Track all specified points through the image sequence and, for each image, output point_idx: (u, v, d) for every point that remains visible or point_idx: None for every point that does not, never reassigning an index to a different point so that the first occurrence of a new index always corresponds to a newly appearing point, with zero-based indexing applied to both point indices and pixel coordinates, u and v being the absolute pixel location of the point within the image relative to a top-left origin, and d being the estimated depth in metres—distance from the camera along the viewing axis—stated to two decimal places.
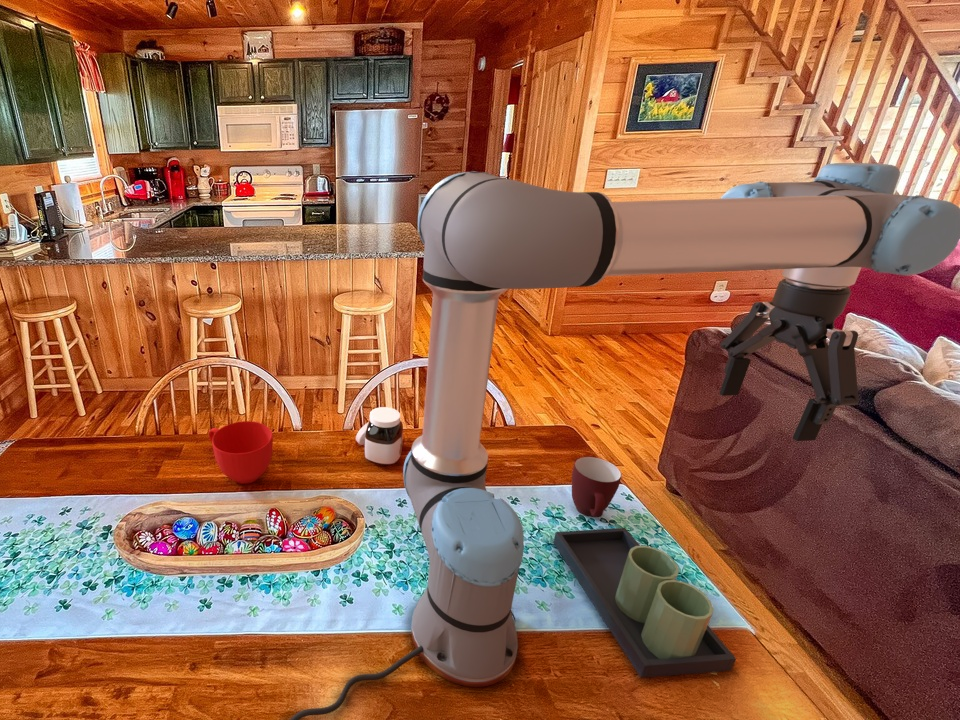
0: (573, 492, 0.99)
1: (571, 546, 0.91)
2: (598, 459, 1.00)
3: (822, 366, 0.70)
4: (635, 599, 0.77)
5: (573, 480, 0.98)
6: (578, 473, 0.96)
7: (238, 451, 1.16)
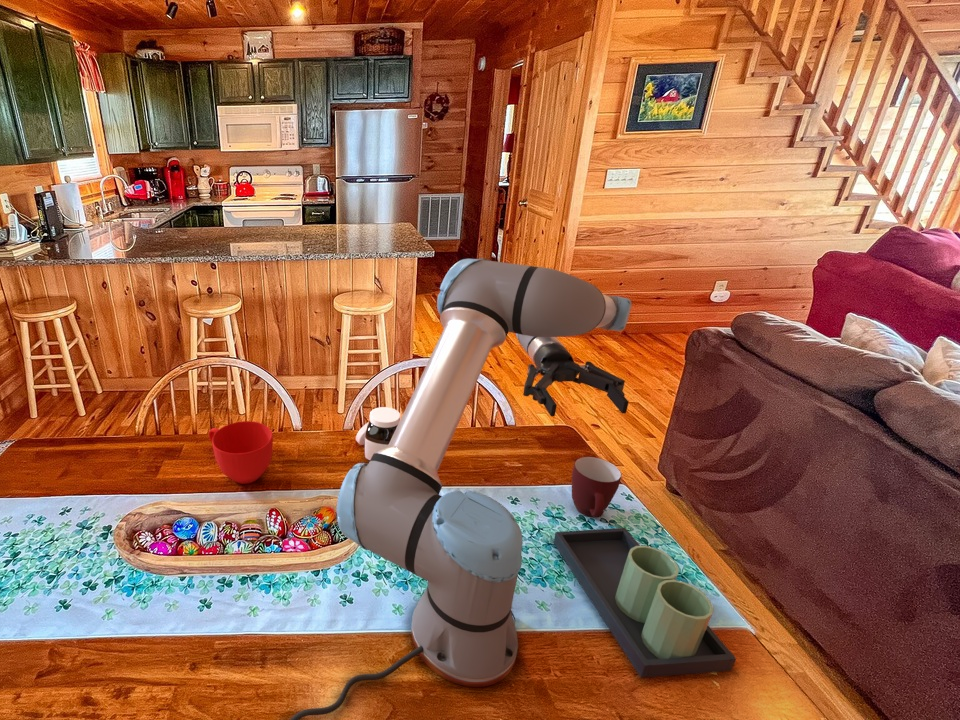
0: (573, 492, 0.99)
1: (571, 546, 0.91)
2: (598, 459, 1.00)
3: None
4: (635, 599, 0.77)
5: (573, 480, 0.98)
6: (578, 473, 0.96)
7: (238, 451, 1.16)
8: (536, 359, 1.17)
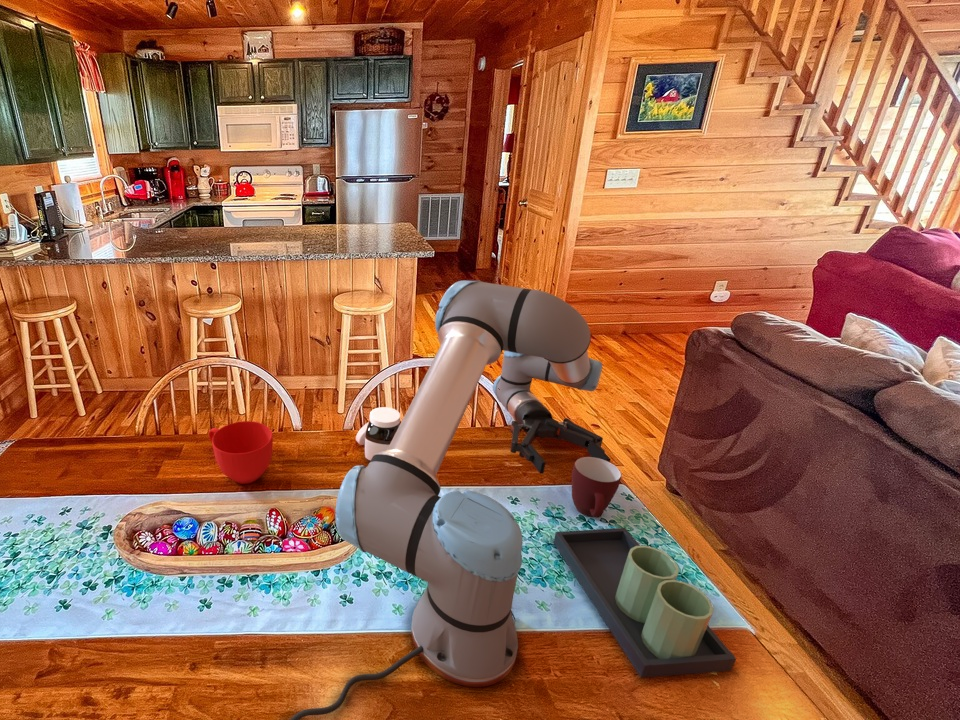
0: (573, 492, 0.99)
1: (571, 546, 0.91)
2: (598, 459, 1.00)
3: None
4: (635, 599, 0.77)
5: (573, 480, 0.98)
6: (578, 473, 0.96)
7: (238, 451, 1.16)
8: (517, 416, 1.21)
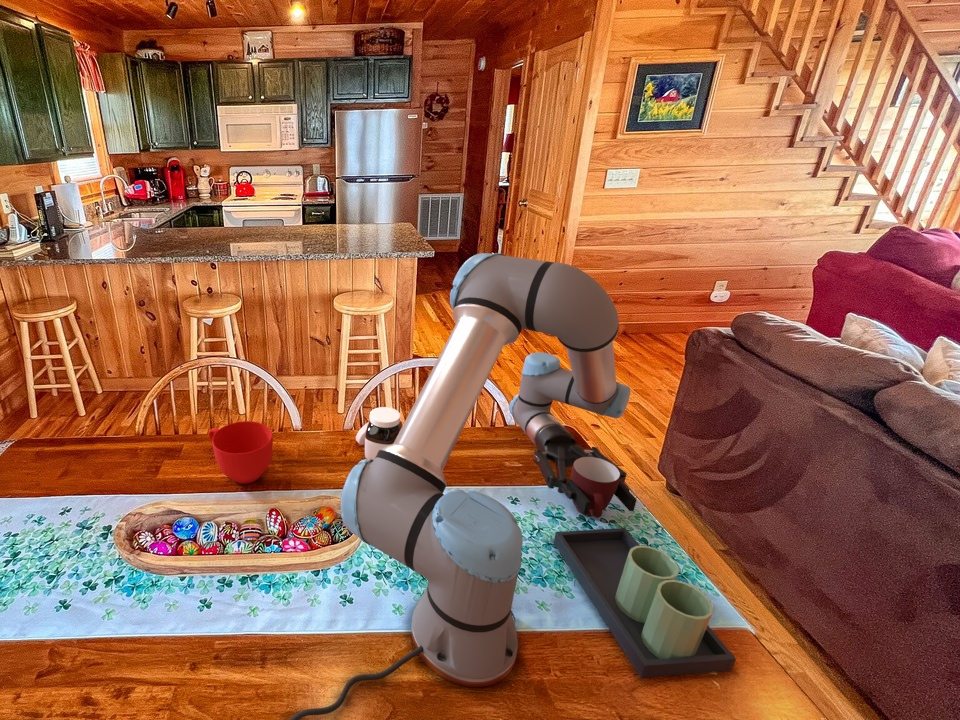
0: None
1: (571, 546, 0.91)
2: (597, 458, 1.00)
3: None
4: (635, 599, 0.77)
5: None
6: (577, 474, 0.96)
7: (238, 451, 1.16)
8: (538, 441, 1.12)
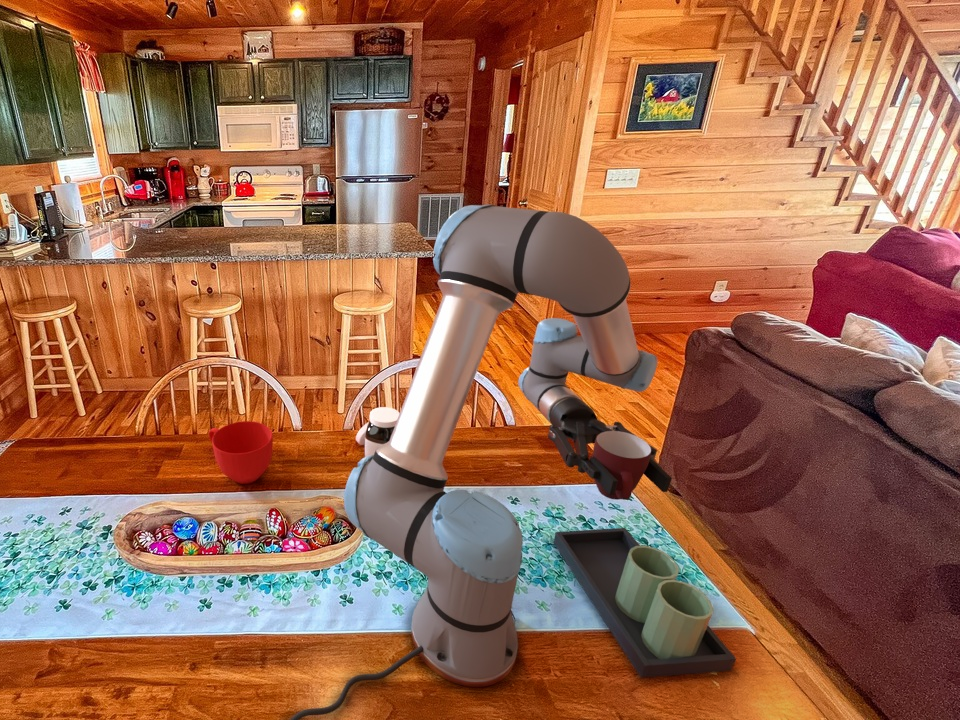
0: None
1: (571, 546, 0.91)
2: (622, 433, 0.87)
3: None
4: (635, 599, 0.77)
5: None
6: (601, 449, 0.83)
7: (238, 451, 1.16)
8: (553, 416, 0.99)
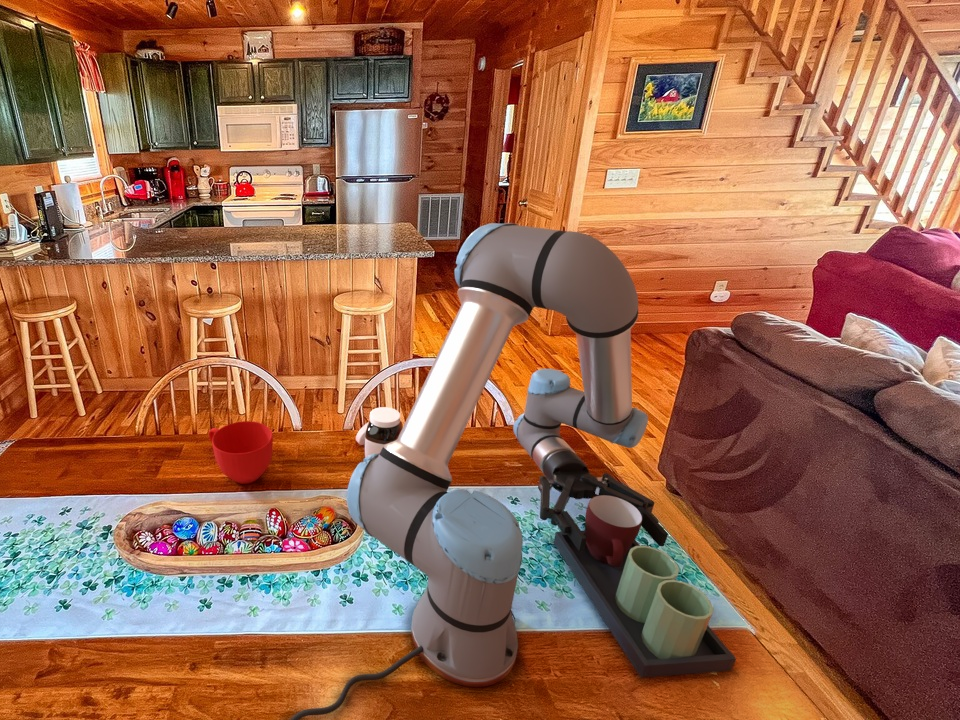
0: (587, 535, 0.88)
1: (571, 546, 0.91)
2: (614, 498, 0.89)
3: None
4: (635, 599, 0.77)
5: (587, 522, 0.87)
6: (593, 515, 0.85)
7: (238, 451, 1.16)
8: (545, 468, 1.00)
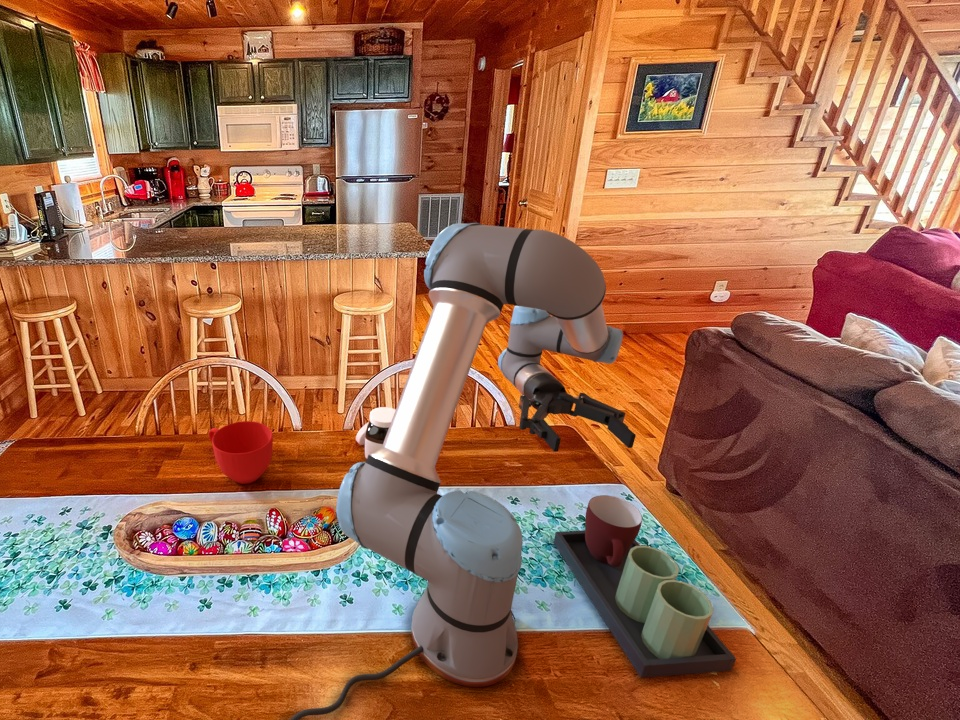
0: (587, 535, 0.88)
1: (571, 546, 0.91)
2: (614, 498, 0.89)
3: None
4: (635, 599, 0.77)
5: (587, 522, 0.87)
6: (593, 515, 0.85)
7: (238, 451, 1.16)
8: (526, 390, 1.07)
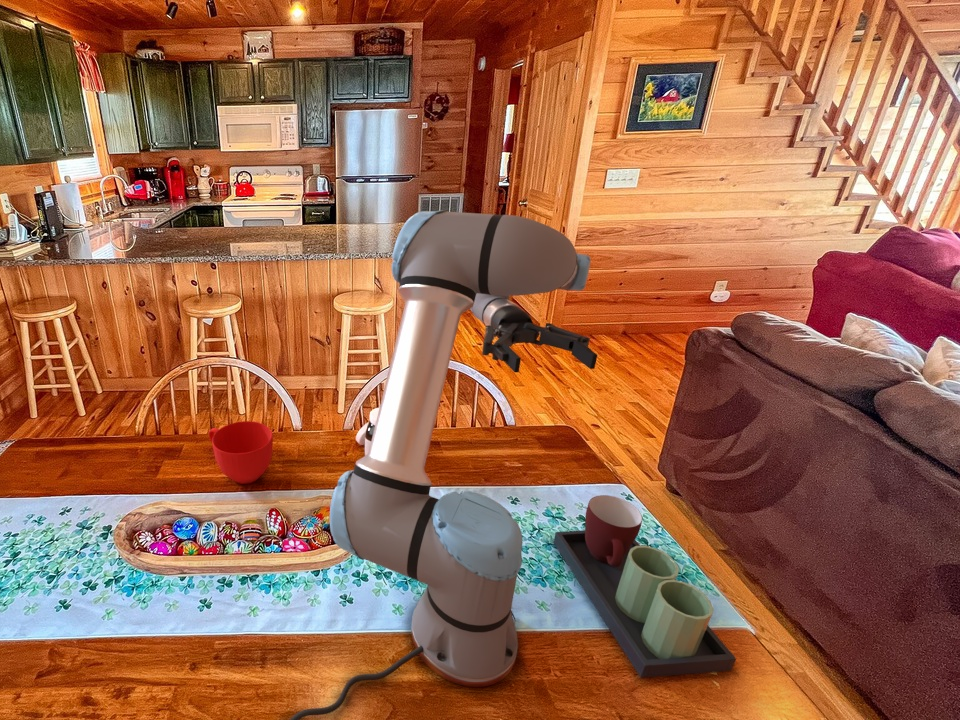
0: (587, 535, 0.88)
1: (571, 546, 0.91)
2: (614, 498, 0.89)
3: None
4: (635, 599, 0.77)
5: (587, 522, 0.87)
6: (593, 515, 0.85)
7: (238, 451, 1.16)
8: (493, 323, 1.06)
